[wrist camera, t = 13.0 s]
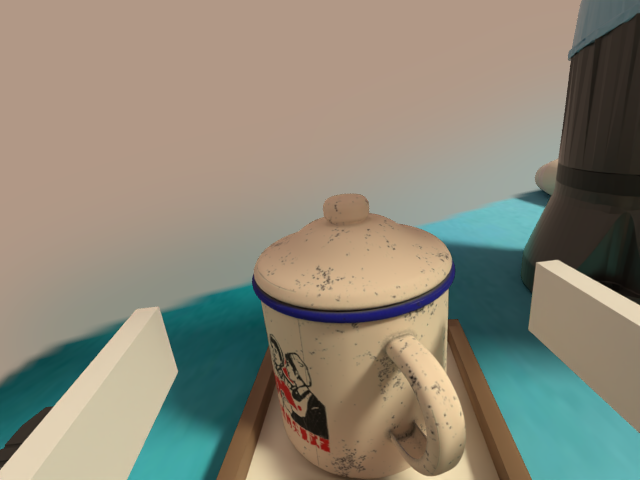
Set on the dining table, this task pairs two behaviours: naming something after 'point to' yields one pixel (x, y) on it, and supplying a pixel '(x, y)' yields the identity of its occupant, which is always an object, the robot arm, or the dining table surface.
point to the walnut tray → (467, 476)
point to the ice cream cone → (547, 176)
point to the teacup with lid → (362, 343)
